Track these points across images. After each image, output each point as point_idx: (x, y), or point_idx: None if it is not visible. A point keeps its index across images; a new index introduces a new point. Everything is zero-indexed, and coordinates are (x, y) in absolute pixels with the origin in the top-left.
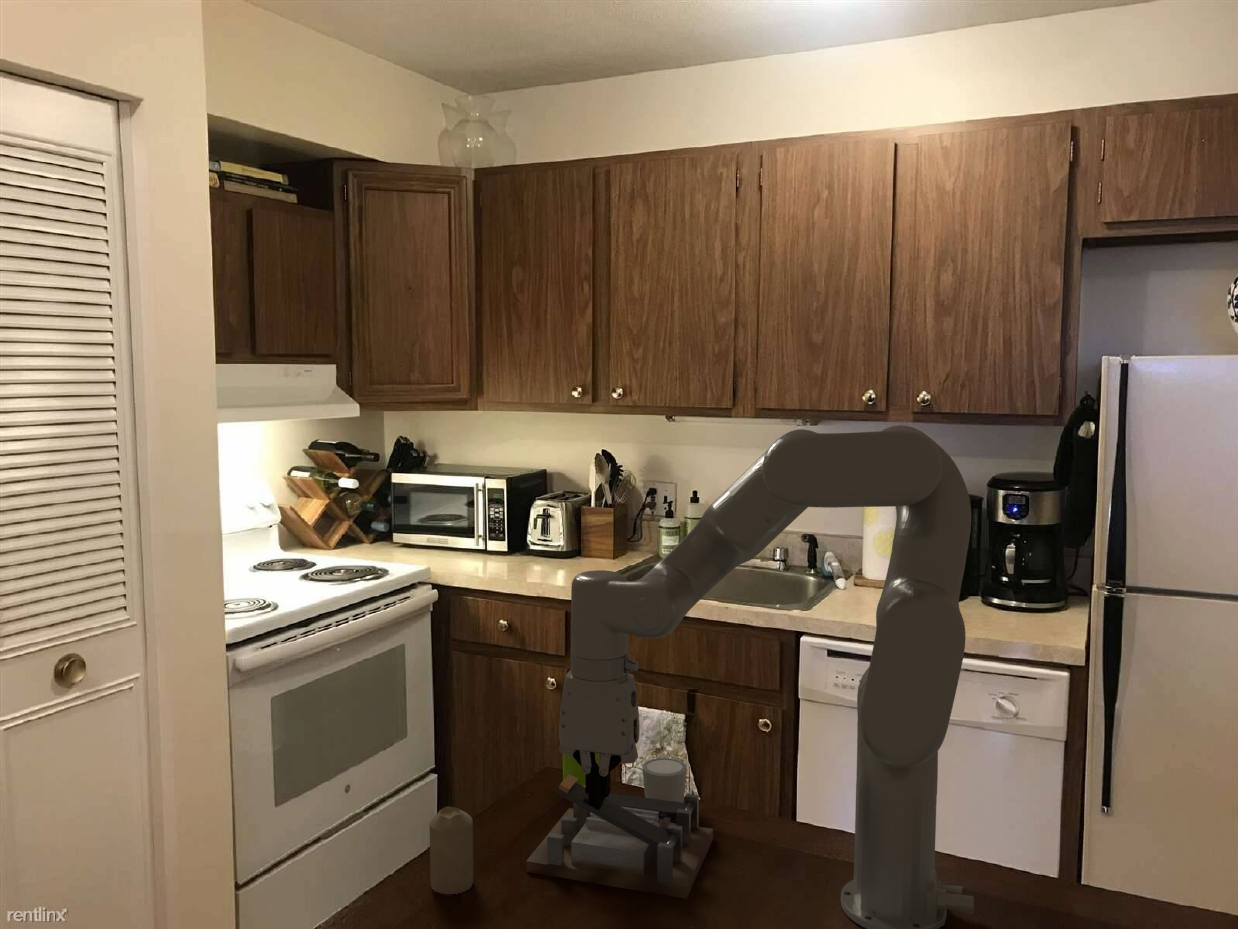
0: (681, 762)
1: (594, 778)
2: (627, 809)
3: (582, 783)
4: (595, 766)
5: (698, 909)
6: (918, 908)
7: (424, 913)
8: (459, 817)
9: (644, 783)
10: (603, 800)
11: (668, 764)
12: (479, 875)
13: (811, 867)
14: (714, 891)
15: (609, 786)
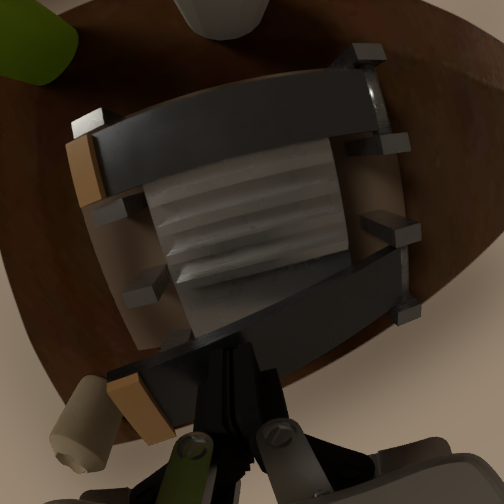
0: None
1: (251, 454)
2: (242, 181)
3: (47, 65)
4: (235, 466)
5: (417, 286)
6: None
7: (133, 433)
8: (90, 470)
9: (182, 5)
10: (258, 366)
11: None
12: (105, 369)
13: (486, 115)
14: (425, 233)
15: (281, 389)
